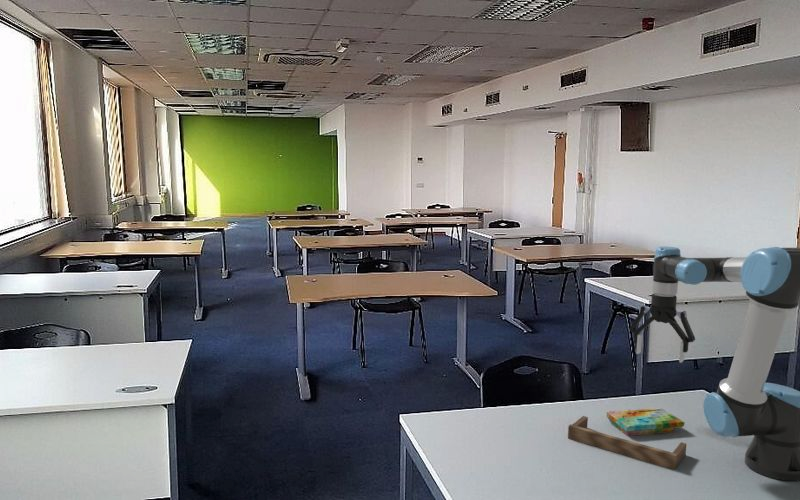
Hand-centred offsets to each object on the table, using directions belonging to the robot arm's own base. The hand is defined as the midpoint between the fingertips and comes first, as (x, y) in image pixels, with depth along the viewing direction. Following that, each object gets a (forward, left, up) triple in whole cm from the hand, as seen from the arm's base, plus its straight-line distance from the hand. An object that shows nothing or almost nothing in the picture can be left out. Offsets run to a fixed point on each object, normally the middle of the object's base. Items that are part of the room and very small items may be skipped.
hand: (659, 357), depth 207 cm
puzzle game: (0, +12, -21) cm, 24 cm away
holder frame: (0, +30, -20) cm, 36 cm away
